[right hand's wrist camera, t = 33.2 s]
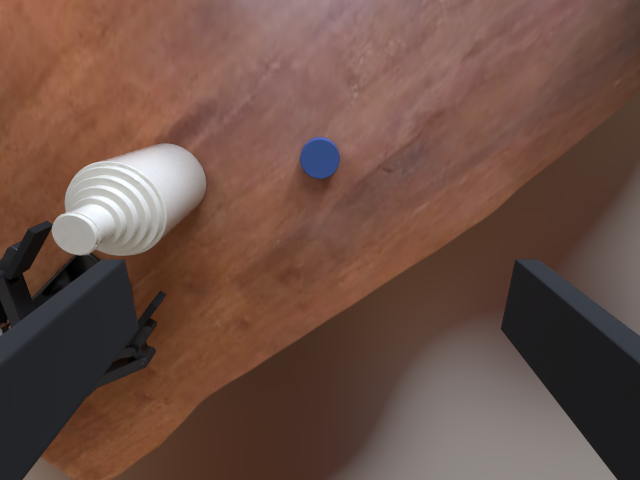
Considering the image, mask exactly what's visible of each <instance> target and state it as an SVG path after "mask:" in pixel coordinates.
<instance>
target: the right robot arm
mask: <svg viewBox="0 0 640 480" xmlns="http://www.w3.org/2000/svg"><path fill="white" fill-rule="evenodd" d="M138 330H139V326H138V322H137V317H136V312H135V307H134V302H133V298H132V293H131V288H130V283H129V278H128V274H127V269H126V264H125V260H101V261H99V262H98V263H97V264H95V265H94V266H93V267H91V268H90V269H89V270H87V271H86V272H85V273H83V274H82V275H81V276H79V277H78V278H77V279H75V280H74V281H73V282H71V283H70V284H69V285H67V286H66V287H65V288H63V289H62V290H61V291H59V292H58V293H57V294H55V295H54V296H53V297H51V298H50V299H49V300H47V301H46V302H45V303H44V304H42V305H41V306H40V307H38V308H37V309H36V310H34V311H33V312H32V313H30V314H29V315H28V316H26V317H25V318H24V319H22V320H21V321H20V322H18V323H17V324H16V325H14V326H13V327H12V328H10V329H9V330H8V331H6V332H5V333H4V334H2V335H1V336H0V480H23V478H24V477H25V476H26V474H27V473H28V472H29V471H30V469H31V468H32V467H33V465H34V464H35V463H36V462H37V460H38V459H39V458H40V456H41V455H42V454H43V452H44V451H45V450H46V449H47V447H48V446H49V445H50V443H51V442H52V441H53V440H54V438H55V437H56V436H57V434H58V433H59V432H60V431H61V429H62V428H63V427H64V425H65V424H66V423H67V421H68V420H69V419H70V418H71V416H72V415H73V414H74V412H75V411H76V410H77V409H78V407H79V406H80V405H81V403H82V402H83V401H84V399H85V398H86V397H87V396H88V394H89V393H90V392H91V390H92V389H93V388H94V387H95V385H96V384H97V383H98V381H99V380H100V379H101V378H102V376H103V375H104V374H105V372H106V371H107V370H108V368H109V367H110V366H111V365H112V363H113V362H114V361H115V359H116V358H117V357H118V356H119V354H120V353H121V352H122V350H123V349H124V348H125V347H126V345H127V344H128V343H129V341H130V340H131V339H132V337H133V336H134V335H135V334H136V332H137V331H138ZM501 330H502V331H503V332H504V334H505V335H506V336H507V337H508V339H509V340H510V341H511V343H512V344H513V345H514V346H515V348H516V349H517V350H518V352H519V353H520V354H521V356H522V357H523V358H524V359H525V361H526V362H527V363H528V365H529V366H530V367H531V368H532V370H533V371H534V372H535V374H536V375H537V376H538V377H539V379H540V380H541V381H542V383H543V384H544V385H545V387H546V388H547V389H548V390H549V392H550V393H551V394H552V396H553V397H554V398H555V399H556V401H557V402H558V403H559V405H560V406H561V407H562V409H563V410H564V411H565V412H566V414H567V415H568V416H569V417H570V419H571V420H572V421H573V423H574V424H575V425H576V427H577V428H578V429H579V430H580V432H581V433H582V434H583V436H584V437H585V438H586V439H587V441H588V442H589V443H590V445H591V446H592V447H593V449H594V450H595V451H596V452H597V454H598V455H599V456H600V458H601V459H602V460H603V462H604V463H605V464H606V465H607V467H608V468H609V469H610V471H611V472H612V473H613V474H614V476H615V477H616V478H617V480H640V336H639V335H638V334H636V333H635V332H634V331H632V330H631V329H630V328H628V327H627V326H626V325H624V324H623V323H622V322H620V321H619V320H618V319H616V318H615V317H614V316H612V315H611V314H610V313H608V312H607V311H606V310H604V309H603V308H602V307H600V306H599V305H598V304H596V303H595V302H594V301H593V300H591V299H590V298H589V297H587V296H586V295H585V294H583V293H582V292H581V291H579V290H578V289H577V288H575V287H574V286H573V285H571V284H570V283H569V282H567V281H566V280H565V279H563V278H562V277H561V276H559V275H558V274H557V273H555V272H554V271H553V270H551V269H550V268H549V267H547V266H546V265H545V264H543V263H542V262H541V261H539V260H515V264H514V269H513V274H512V278H511V284H510V288H509V293H508V298H507V302H506V307H505V312H504V317H503V322H502V326H501Z"/></svg>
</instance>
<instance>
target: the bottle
mask: <svg viewBox="0 0 640 480" xmlns="http://www.w3.org/2000/svg"><path fill="white" fill-rule="evenodd" d="M205 192H206V177H205V173H204V170H203V168H202V166H201V164H200V163H199V162H198V160H197V159H196V158H195V157H194V156H193V155H192V154H191V153H190V152H188V151H187V150H185V149H184V148H182V147H179V146H177V145H173V144H156V145H153V146H150V147H146V148H143V149H140V150H136V151H133V152H130V153H126V154H123V155H120V156H116V157H113V158H110V159H106V160H103V161H100V162H96V163H93V164H90V165H88V166H86V167H84V168H83V169H81V170H80V171H79V172H78V173H77V174H76V175H75V177H74V178H73V179H72V181H71V183H70V185H69V187H68V189H67V192H66V195H65V211H66V213H64V214H61V215H60V216H59V217H57V218H56V220H55V222H54V223H53V226H52V235H53V238H54V240H55V242H56V243H57V244H58V246H59V247H61V248H62V249H63V250H65V251H66V252H68V253H71V254H74V255H87V254H89V253H91V252H92V251H94V250H95V249H96V250H98V251H101V252H103V253H106V254H110V255H117V256H126V255H135V254H139V253H143V252H145V251H147V250H149V249H150V248H152V247H153V246H154V245H156V244H157V243H158V242H159V241H160V240H161V239H162V238H163V237H164V236H166V235H167V234H168V233H169V232H170V231H171V230H172V229H173V228H174V227H175V226H177V225H178V224H179V223H180V222H181V221H182V220H183V219H184V218H185V217H186V216H188V215H189V214H190V213H191V212H192V211H193V210H194V209H195V208H196V207H197V206H198V205H199V204H200V203H201V201H202V200H203V198H204V195H205Z"/></svg>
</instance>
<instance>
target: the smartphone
mask: <svg viewBox="0 0 640 480" xmlns="http://www.w3.org/2000/svg"><path fill="white" fill-rule="evenodd" d="M99 261H100V260H99V259H98V258H97V257H96V256H94V255H93V254H92V253H89V254H87V255H75V256H74V257H72V258H71V259H70V260H69V261H68V262H67V263H66V264H65V265H64V266H63V267H62V268H61V269H60V270H59V271H58V272H57V273H56V274H55V275H54V276H53V277H52V278H51V279H50V280H49V281H48V282H47V283H46V284H45V285H44V286H43V287H42V288H41V289H40V290H39V291H38V292H37V293H36V294H35V295H34V296H33V297H32V301H33V304H34V307H35V309H37V308H38V307H40V306H41V305H42V304H44V303H45V302H46V301H47V300H49V299H50V298H51V297H53V296H54V295H55V294H57V293H58V292H59V291H61V290H62V289H63V288H65V287H66V286H67V285H69V284H70V283H71V282H73V281H74V280H75V279H77V278H78V277H79V276H81V275H82V274H83V273H85V272H86V271H87V270H89V269H90V268H91V267H93V266H94V265H95V264H97V263H98V262H99Z"/></svg>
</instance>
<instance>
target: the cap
mask: <svg viewBox="0 0 640 480" xmlns="http://www.w3.org/2000/svg"><path fill="white" fill-rule="evenodd" d="M300 160H301V165H302V168H303V169H304V171H305V172H306V173H307V174H308V175H309V176H311V177H313V178H318V179H322V178H326V177H329V176H330V175H332V174H333V173H334V172H335V171H336V169H337V168H338V165H339V153H338V150H337V147H336V146H335V144H334V143H333V142H332V141H330V140H328V139H326V138H322V137H318V138H314V139H311V140H310V141H308V142H307V143H306V144H305V146H304V147H303V149H302V153H301V158H300Z"/></svg>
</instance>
